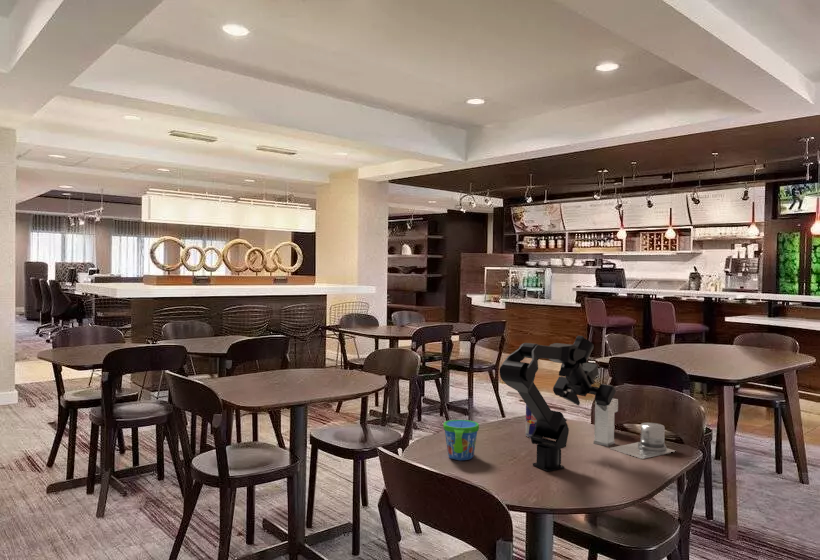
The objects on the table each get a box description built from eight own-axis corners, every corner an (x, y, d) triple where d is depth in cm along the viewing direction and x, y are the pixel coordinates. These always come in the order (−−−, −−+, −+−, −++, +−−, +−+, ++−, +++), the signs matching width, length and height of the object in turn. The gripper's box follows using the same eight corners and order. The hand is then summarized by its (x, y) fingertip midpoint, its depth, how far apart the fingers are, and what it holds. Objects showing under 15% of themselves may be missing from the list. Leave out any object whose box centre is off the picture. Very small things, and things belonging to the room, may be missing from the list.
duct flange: (642, 459, 178) (642, 434, 178) (610, 448, 188) (610, 425, 188) (677, 451, 186) (677, 428, 186) (644, 441, 196) (645, 419, 196)
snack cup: (449, 448, 186) (449, 415, 186) (482, 451, 183) (483, 418, 183) (437, 463, 171) (437, 428, 171) (473, 467, 168) (473, 431, 168)
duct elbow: (607, 446, 190) (608, 403, 190) (593, 443, 194) (594, 400, 194) (618, 441, 196) (619, 399, 196) (604, 438, 199) (605, 397, 199)
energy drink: (523, 437, 200) (524, 401, 200) (528, 433, 204) (528, 398, 204) (539, 439, 197) (539, 403, 197) (543, 435, 202) (544, 400, 202)
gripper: (614, 359, 177) (629, 392, 185) (559, 351, 190) (575, 382, 198) (600, 388, 171) (616, 421, 179) (544, 377, 185) (561, 408, 193)
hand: (592, 407), depth 187 cm, fingers open, 9 cm apart
